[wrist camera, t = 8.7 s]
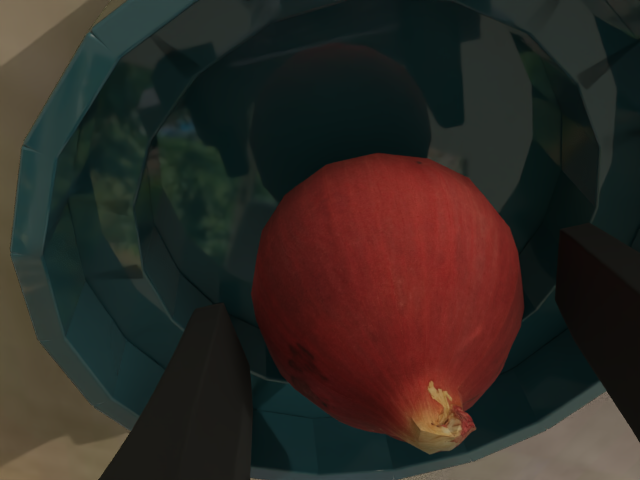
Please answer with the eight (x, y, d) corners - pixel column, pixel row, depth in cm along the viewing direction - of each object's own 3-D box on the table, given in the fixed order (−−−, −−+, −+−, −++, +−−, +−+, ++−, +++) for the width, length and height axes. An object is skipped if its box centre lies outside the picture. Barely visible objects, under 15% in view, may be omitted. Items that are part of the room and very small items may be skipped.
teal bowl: (730, -110, 13) (924, -81, 9) (534, 360, 22) (592, 469, 18) (0, -162, 11) (-123, -152, 7) (117, 376, 20) (88, 501, 16)
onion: (386, 299, 18) (463, 561, 12) (217, 239, 16) (198, 516, 10) (502, 152, 15) (685, 390, 9) (316, 55, 13) (381, 276, 7)
